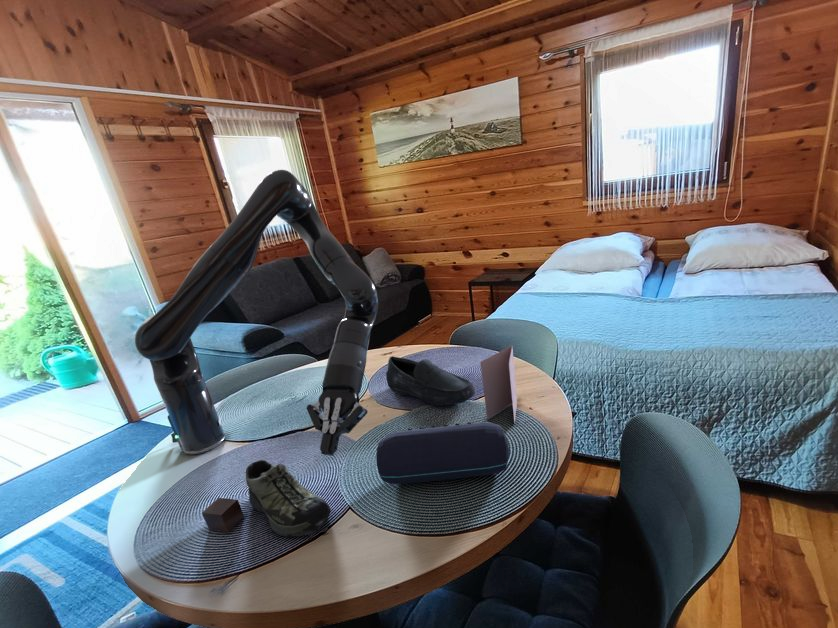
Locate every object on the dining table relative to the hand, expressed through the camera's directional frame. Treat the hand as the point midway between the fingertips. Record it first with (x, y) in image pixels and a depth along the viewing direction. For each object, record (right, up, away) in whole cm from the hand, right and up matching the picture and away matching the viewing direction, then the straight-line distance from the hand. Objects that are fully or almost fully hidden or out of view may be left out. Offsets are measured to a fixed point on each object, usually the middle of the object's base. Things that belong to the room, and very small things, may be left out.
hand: (327, 454), depth 82 cm
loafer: (+16, +7, +36) cm, 40 cm away
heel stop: (-18, -12, -3) cm, 21 cm away
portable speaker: (+23, -5, +3) cm, 23 cm away
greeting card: (+37, +5, +22) cm, 44 cm away
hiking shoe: (-6, -10, -2) cm, 12 cm away
